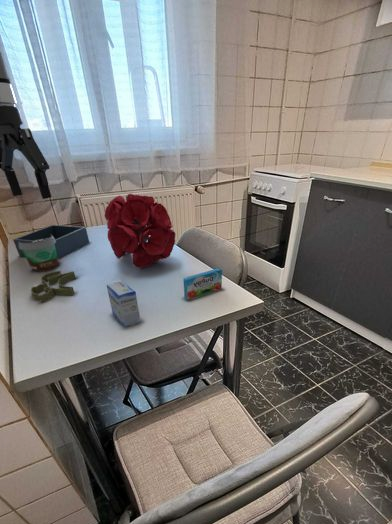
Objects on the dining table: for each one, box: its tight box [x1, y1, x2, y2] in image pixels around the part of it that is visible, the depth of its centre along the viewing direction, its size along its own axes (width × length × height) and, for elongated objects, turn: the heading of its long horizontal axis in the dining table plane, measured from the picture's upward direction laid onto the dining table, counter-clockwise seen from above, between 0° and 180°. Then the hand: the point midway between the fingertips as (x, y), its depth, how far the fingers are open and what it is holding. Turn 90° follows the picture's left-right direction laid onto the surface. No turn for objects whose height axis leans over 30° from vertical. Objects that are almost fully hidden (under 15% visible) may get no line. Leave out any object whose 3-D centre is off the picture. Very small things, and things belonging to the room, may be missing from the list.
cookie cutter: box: [30, 270, 77, 303], centre depth 91 cm, size 18×12×2 cm, turn 15°
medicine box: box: [106, 280, 141, 328], centre depth 73 cm, size 8×4×9 cm, turn 35°
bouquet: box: [104, 193, 176, 269], centre depth 101 cm, size 22×24×30 cm
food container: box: [18, 235, 60, 272], centre depth 102 cm, size 12×6×10 cm, turn 137°
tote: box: [12, 224, 90, 260], centre depth 120 cm, size 18×22×7 cm
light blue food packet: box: [182, 268, 223, 301], centre depth 83 cm, size 12×2×6 cm, turn 123°
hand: (32, 196), depth 89 cm, fingers open, 13 cm apart
